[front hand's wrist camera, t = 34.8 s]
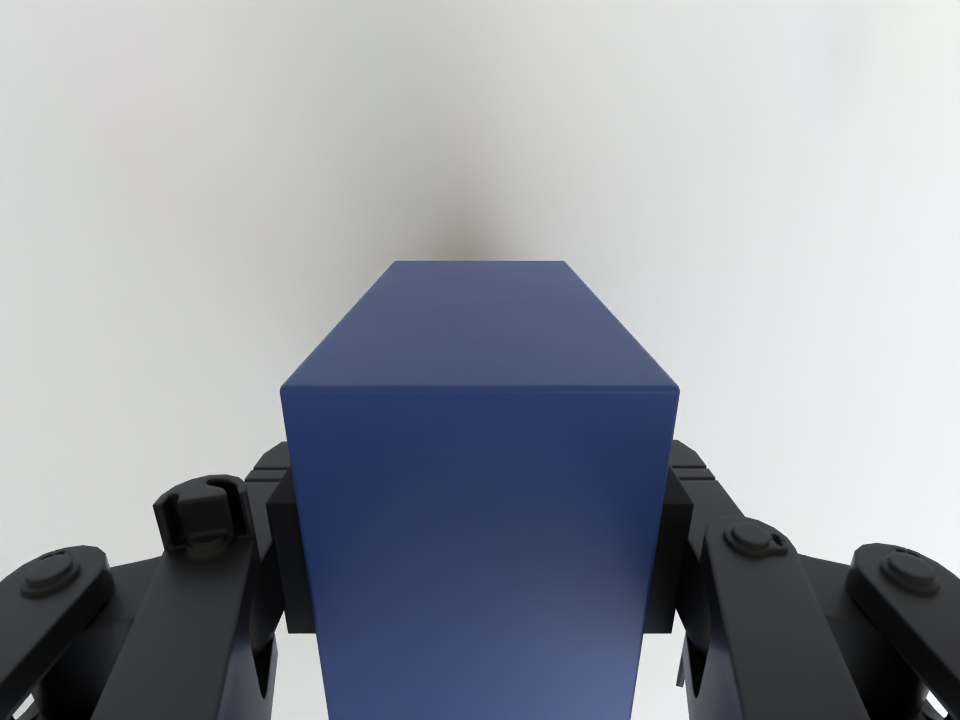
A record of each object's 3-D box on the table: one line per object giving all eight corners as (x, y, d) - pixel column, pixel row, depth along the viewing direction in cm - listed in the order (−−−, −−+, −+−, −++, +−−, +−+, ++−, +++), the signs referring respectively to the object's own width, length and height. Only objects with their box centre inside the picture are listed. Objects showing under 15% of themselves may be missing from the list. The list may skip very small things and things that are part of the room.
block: (552, 469, 18) (625, 766, 9) (405, 469, 18) (333, 766, 9) (565, 260, 16) (683, 387, 7) (393, 260, 16) (276, 388, 7)
